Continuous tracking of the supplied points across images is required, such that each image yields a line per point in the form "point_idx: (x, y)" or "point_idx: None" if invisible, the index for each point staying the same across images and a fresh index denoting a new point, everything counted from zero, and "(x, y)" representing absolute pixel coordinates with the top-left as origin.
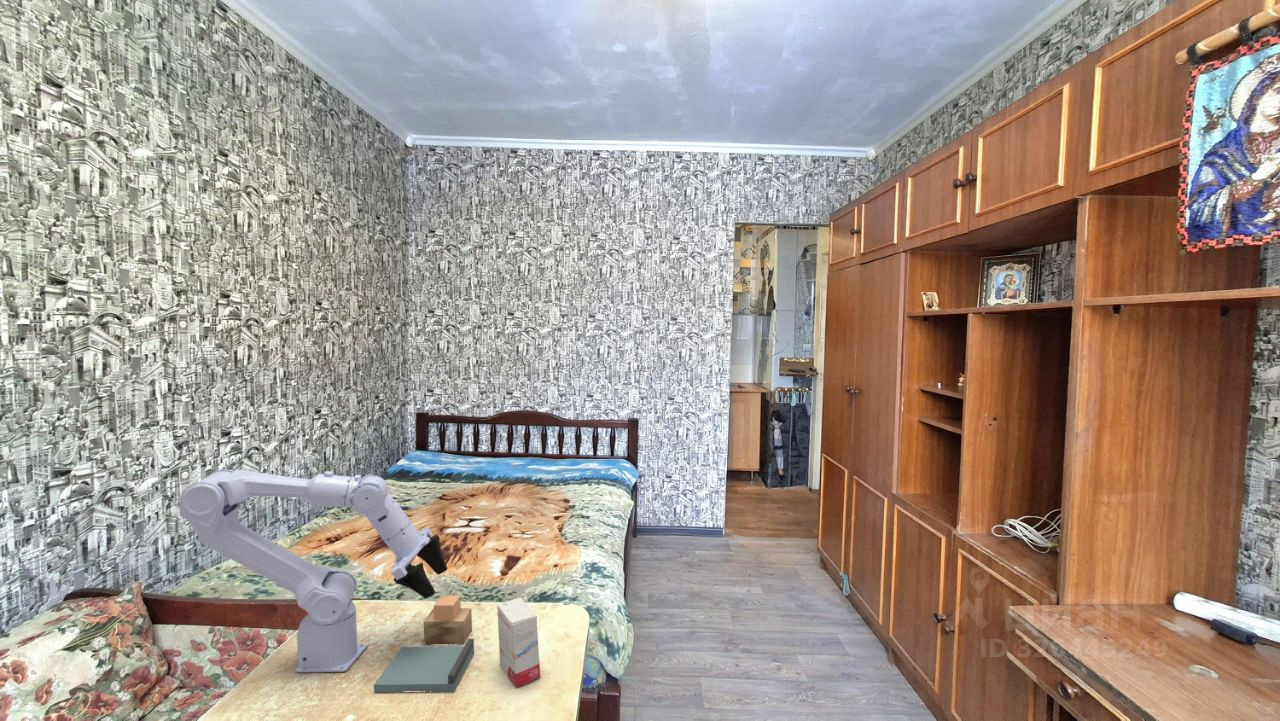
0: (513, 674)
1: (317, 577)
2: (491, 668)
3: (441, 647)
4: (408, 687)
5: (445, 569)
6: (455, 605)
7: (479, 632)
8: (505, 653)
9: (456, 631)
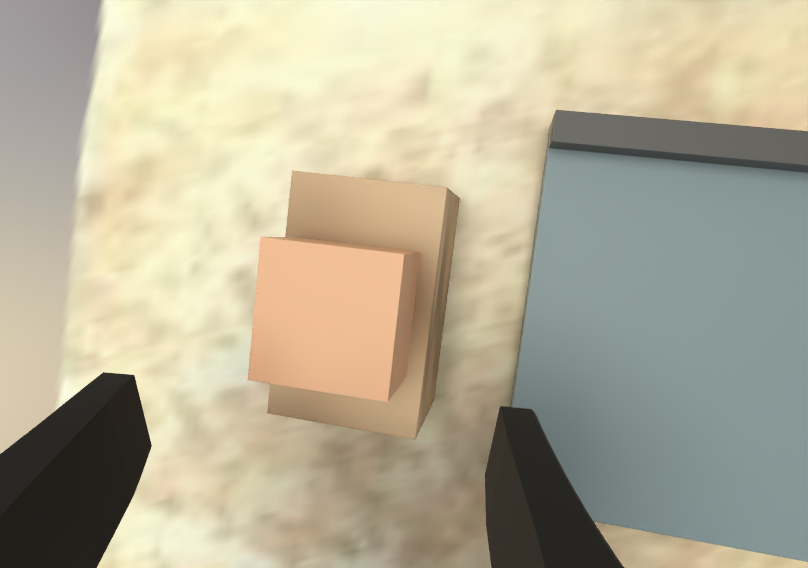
0: None
1: None
2: (699, 4)
3: (537, 296)
4: None
5: (129, 389)
6: (370, 249)
7: (358, 140)
8: None
9: (448, 234)
